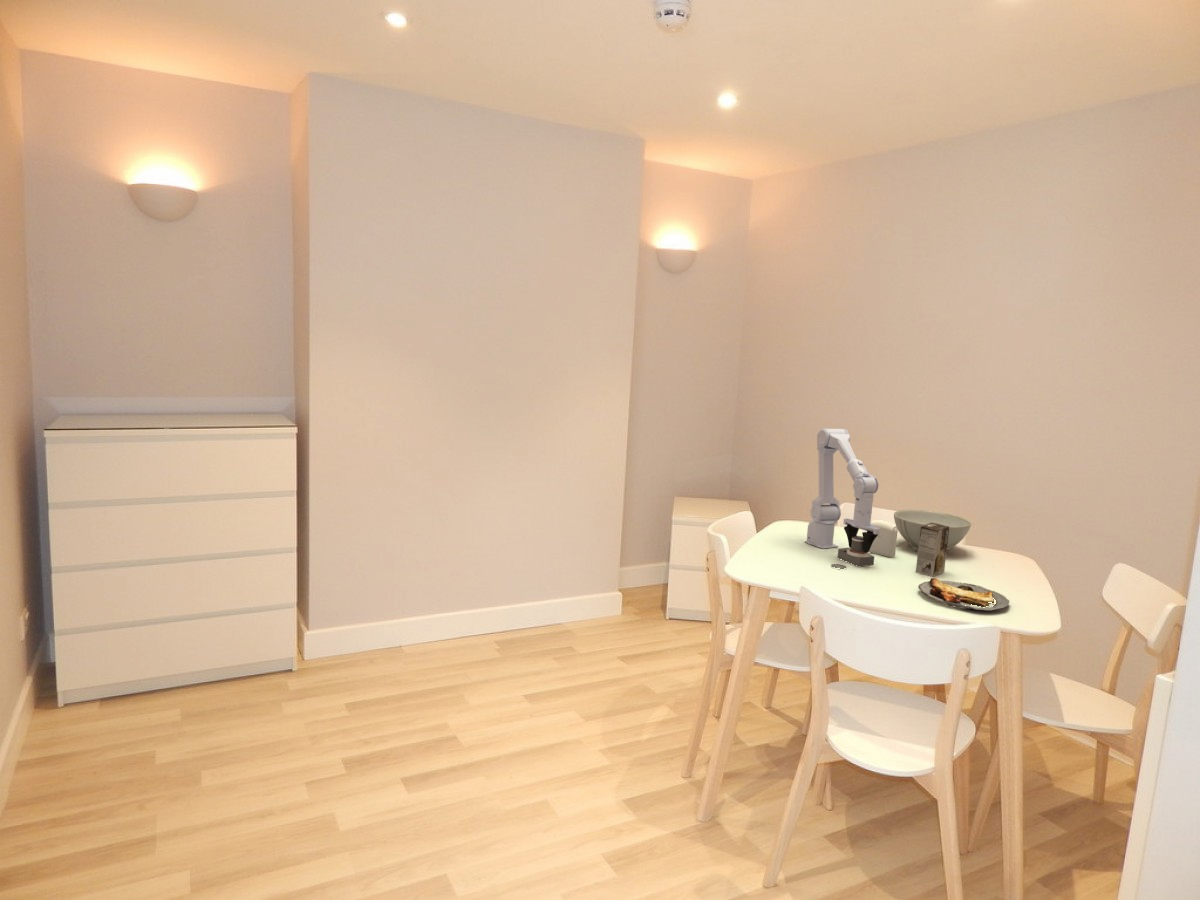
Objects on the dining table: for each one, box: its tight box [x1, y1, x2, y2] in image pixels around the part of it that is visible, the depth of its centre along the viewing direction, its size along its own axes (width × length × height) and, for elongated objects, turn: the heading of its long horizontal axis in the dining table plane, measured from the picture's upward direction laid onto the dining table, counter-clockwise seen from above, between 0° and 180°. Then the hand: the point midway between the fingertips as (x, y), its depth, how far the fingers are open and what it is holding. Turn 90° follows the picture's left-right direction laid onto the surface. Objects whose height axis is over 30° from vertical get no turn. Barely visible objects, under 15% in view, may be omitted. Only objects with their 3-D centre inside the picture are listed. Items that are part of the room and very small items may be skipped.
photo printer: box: [869, 519, 899, 558], centre depth 280 cm, size 10×4×12 cm, turn 39°
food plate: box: [917, 577, 1010, 611], centre depth 235 cm, size 25×23×4 cm
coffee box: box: [915, 523, 949, 578], centre depth 261 cm, size 9×6×16 cm
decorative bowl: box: [893, 509, 972, 551], centre depth 291 cm, size 27×27×12 cm
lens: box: [851, 535, 864, 554], centre depth 268 cm, size 4×4×6 cm
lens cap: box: [830, 563, 847, 570], centre depth 262 cm, size 5×5×1 cm
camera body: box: [836, 546, 875, 567], centre depth 270 cm, size 10×8×4 cm
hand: (858, 549), depth 268 cm, fingers open, 6 cm apart
